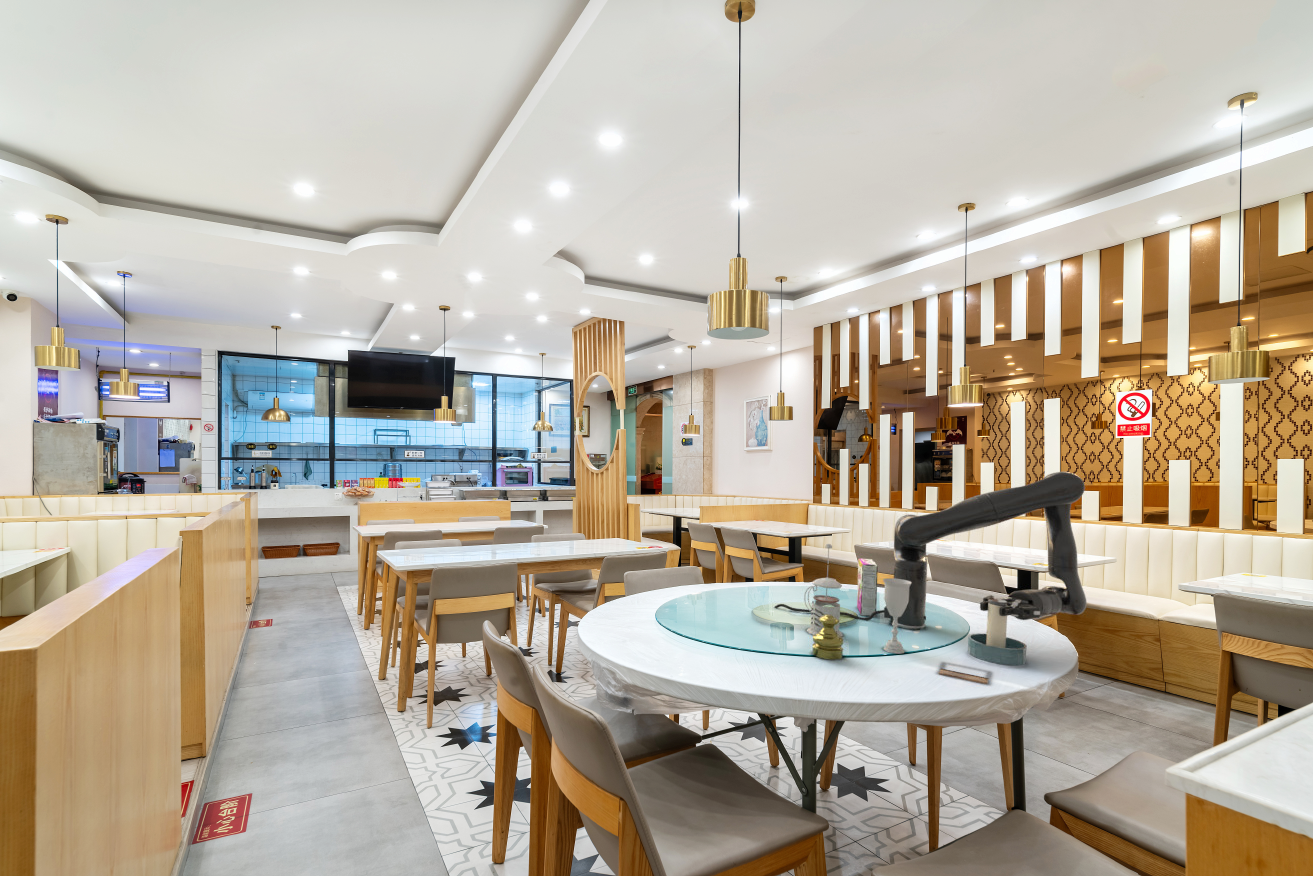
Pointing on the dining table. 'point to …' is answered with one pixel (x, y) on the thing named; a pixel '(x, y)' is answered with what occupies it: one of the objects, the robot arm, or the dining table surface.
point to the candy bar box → (867, 587)
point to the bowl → (997, 650)
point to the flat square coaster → (963, 676)
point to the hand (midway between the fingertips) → (991, 609)
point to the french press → (824, 603)
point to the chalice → (896, 608)
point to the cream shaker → (996, 624)
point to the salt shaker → (828, 640)
